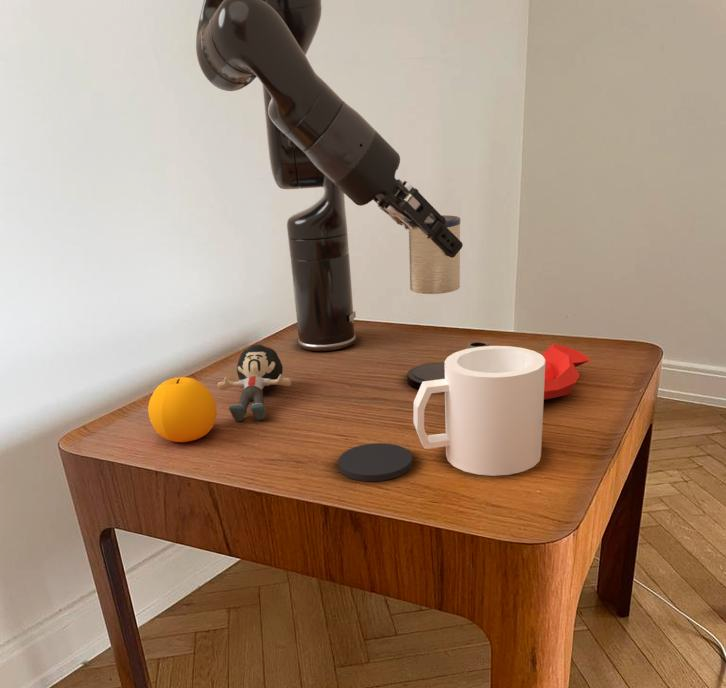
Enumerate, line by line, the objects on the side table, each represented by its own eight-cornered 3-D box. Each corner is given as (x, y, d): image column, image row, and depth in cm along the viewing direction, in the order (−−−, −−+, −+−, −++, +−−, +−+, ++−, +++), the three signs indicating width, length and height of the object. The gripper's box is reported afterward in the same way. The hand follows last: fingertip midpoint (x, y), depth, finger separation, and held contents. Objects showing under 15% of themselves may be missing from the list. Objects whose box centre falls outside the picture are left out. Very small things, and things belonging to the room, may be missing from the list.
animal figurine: (601, 377, 100) (604, 340, 98) (558, 415, 90) (561, 375, 87) (521, 366, 107) (522, 331, 104) (472, 400, 96) (472, 362, 94)
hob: (398, 375, 106) (398, 367, 106) (457, 366, 108) (457, 357, 108) (420, 396, 99) (419, 386, 98) (483, 385, 101) (483, 376, 100)
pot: (403, 285, 99) (401, 218, 95) (448, 280, 100) (448, 213, 96) (419, 296, 93) (418, 224, 89) (468, 290, 95) (468, 219, 91)
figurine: (206, 409, 93) (222, 336, 103) (217, 446, 98) (231, 373, 108) (285, 404, 92) (293, 332, 102) (292, 442, 97) (299, 369, 107)
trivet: (331, 456, 84) (330, 450, 83) (398, 444, 85) (398, 438, 85) (349, 487, 77) (349, 480, 76) (423, 473, 78) (422, 466, 78)
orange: (194, 419, 97) (183, 363, 93) (233, 432, 92) (224, 374, 88) (141, 440, 91) (128, 382, 88) (180, 455, 87) (168, 394, 83)
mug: (429, 485, 76) (426, 386, 71) (407, 446, 85) (403, 355, 80) (556, 468, 77) (561, 370, 73) (521, 430, 86) (524, 341, 82)
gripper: (390, 128, 80) (490, 231, 88) (355, 126, 92) (444, 216, 100) (346, 185, 81) (448, 281, 89) (317, 175, 94) (408, 261, 102)
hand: (446, 246), depth 95 cm, fingers closed on pot, 6 cm apart
